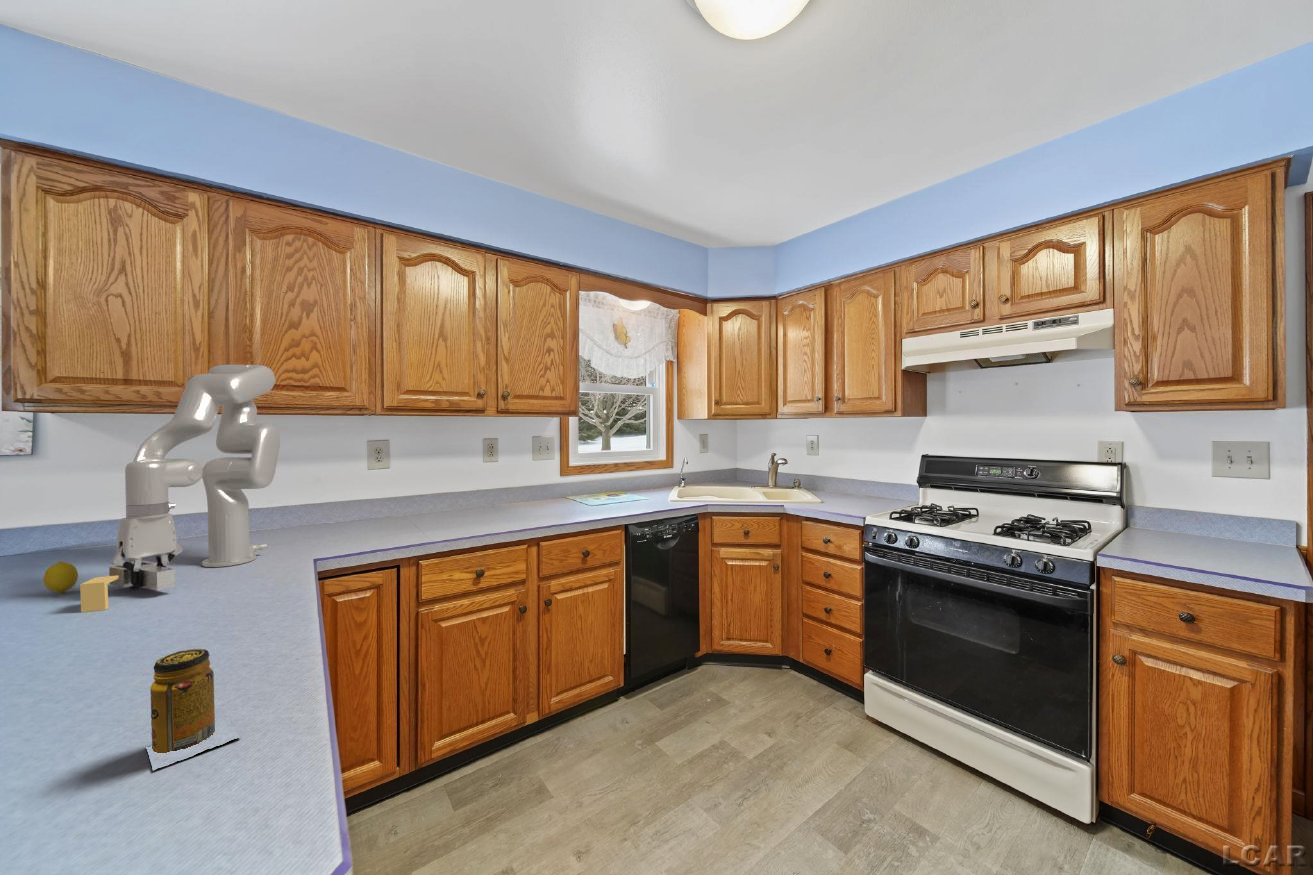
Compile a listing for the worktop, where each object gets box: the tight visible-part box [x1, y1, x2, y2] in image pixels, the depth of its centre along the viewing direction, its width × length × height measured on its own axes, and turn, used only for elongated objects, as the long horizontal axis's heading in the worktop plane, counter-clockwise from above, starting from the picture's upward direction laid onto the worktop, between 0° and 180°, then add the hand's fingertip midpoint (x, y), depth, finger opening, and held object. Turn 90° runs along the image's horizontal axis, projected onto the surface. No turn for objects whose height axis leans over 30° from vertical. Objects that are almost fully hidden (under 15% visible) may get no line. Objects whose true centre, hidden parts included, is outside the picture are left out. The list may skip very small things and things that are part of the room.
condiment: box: [149, 648, 216, 753], centre depth 67 cm, size 7×8×12 cm
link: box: [108, 560, 176, 591], centre depth 128 cm, size 18×7×4 cm, turn 68°
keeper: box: [79, 575, 119, 613], centre depth 117 cm, size 6×4×6 cm
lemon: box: [43, 561, 79, 595], centre depth 126 cm, size 6×6×8 cm
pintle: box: [129, 586, 141, 590], centre depth 130 cm, size 2×2×6 cm
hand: (149, 583), depth 127 cm, fingers closed on link, 3 cm apart
